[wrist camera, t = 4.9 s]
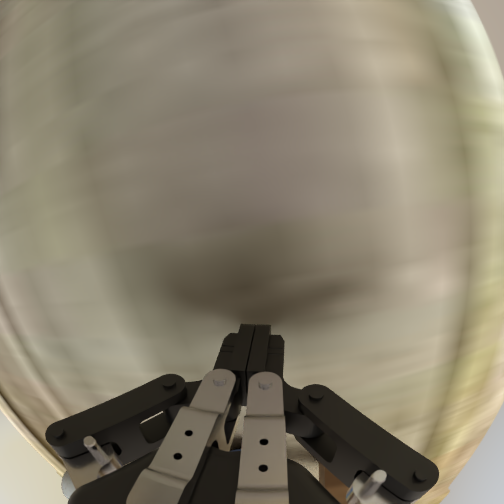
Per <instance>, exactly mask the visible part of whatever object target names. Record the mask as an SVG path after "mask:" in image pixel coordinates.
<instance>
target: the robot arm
mask: <svg viewBox="0 0 504 504" xmlns="http://www.w3.org/2000/svg"><path fill="white" fill-rule="evenodd" d="M283 365H284V340H283V338H282V337H281V335H271V325H253V324H241V325H240V329H239V332H238V333H230V334H229V335H228V336H226V337H225V338H224V340H223V343H222V347H221V349H220V352H219V355H218V357H217V360H216V363H215V366H214V369H213V370H212V371H210V372H208V373H207V374H206V375H205V376H204V378H203V380H200V381H194V382H185V380H184V379H183V378H182V377H181V376H179V375H176V374H166V375H163V376H161V377H159V378H157V379H154V380H152V381H150V382H148V383H146V384H144V385H142V386H140V387H138V388H135V389H133V390H131V391H129V392H127V393H125V394H122V395H120V396H118V397H116V398H113V399H111V400H109V401H106V402H104V403H102V404H99V405H97V406H95V407H92V408H90V409H88V410H85V411H83V412H80V413H78V414H75V415H73V416H70V417H68V418H65V419H63V420H60V421H57V422H55V423H53V424H51V425H50V426H49V427H48V428H47V430H46V433H45V437H46V440H47V442H48V443H49V444H50V445H51V446H52V448H53V449H54V450H55V451H56V453H57V454H58V456H59V457H60V458H61V459H62V460H63V462H64V465H65V467H66V469H67V472H68V474H69V476H70V478H71V481H72V483H73V485H74V487H75V489H76V490H75V491H74V492H73V493H72V494H71V496H70V498H69V501H68V504H341V503H340V502H339V501H338V500H337V499H336V498H335V497H334V496H333V495H332V494H331V493H330V492H329V491H328V490H327V489H325V488H324V487H323V485H322V484H321V483H320V482H319V481H318V480H317V479H316V478H315V477H314V476H313V475H312V474H311V473H310V472H309V471H308V470H307V469H306V468H304V467H303V466H302V465H300V464H299V463H297V462H295V461H293V460H290V459H287V451H286V433H289V434H293V435H294V436H295V438H296V440H297V441H298V442H299V443H300V444H301V445H302V446H303V447H304V448H305V449H306V450H307V451H308V452H309V453H310V454H311V455H313V456H314V457H315V458H316V459H317V460H318V461H319V462H320V463H321V464H322V465H323V466H324V467H325V468H327V469H328V470H329V471H330V472H331V473H332V474H333V475H334V476H336V477H337V478H338V479H339V480H340V481H341V482H342V483H344V484H345V485H346V486H347V487H348V488H349V489H348V491H347V493H346V501H347V503H348V504H414V503H415V502H416V501H417V500H419V499H420V498H421V497H422V496H423V495H424V494H425V493H426V492H428V491H429V490H430V489H431V488H432V487H433V486H434V485H435V484H436V482H437V481H438V478H439V470H438V468H437V466H436V465H435V464H434V463H433V462H432V461H430V460H429V459H427V458H425V457H424V456H422V455H421V454H419V453H418V452H416V451H415V450H413V449H412V448H410V447H409V446H407V445H406V444H404V443H403V442H401V441H400V440H399V439H397V438H396V437H394V436H393V435H391V434H390V433H388V432H387V431H386V430H384V429H383V428H381V427H380V426H379V425H377V424H376V423H374V422H373V421H372V420H370V419H369V418H368V417H366V416H365V415H363V414H362V413H361V412H359V411H358V410H357V409H355V408H354V407H353V406H351V405H350V404H349V403H347V402H346V401H345V400H343V399H342V398H341V397H339V396H338V395H337V394H335V393H334V392H333V391H332V390H330V389H329V388H327V387H326V386H323V385H319V384H313V385H308V386H306V387H304V388H303V389H302V390H301V389H297V388H294V387H291V386H290V385H288V384H287V383H286V382H285V381H284V379H283ZM241 406H247V409H246V416H244V425H243V436H242V446H241V451H231V452H230V447H231V444H232V441H233V438H234V435H235V432H236V429H237V426H238V422H239V419H240V415H239V414H240V411H241ZM161 411H163V413H161V414H159V415H157V416H155V417H153V418H151V419H150V420H148V421H146V422H144V423H141V422H142V421H144V420H146V419H148V418H150V417H152V416H153V415H155V414H157V413H159V412H161ZM140 423H141V424H140ZM132 461H133V462H132ZM130 462H131V463H130ZM128 463H129V464H128ZM126 464H127V465H126ZM124 465H125V466H124Z"/></svg>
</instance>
